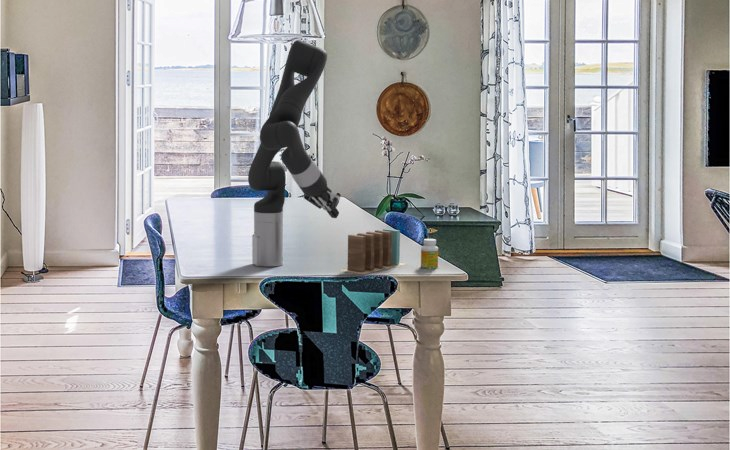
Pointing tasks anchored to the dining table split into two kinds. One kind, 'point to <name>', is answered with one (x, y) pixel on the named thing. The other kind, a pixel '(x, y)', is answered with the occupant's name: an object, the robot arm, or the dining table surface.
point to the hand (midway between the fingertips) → (335, 215)
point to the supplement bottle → (429, 254)
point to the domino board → (374, 269)
